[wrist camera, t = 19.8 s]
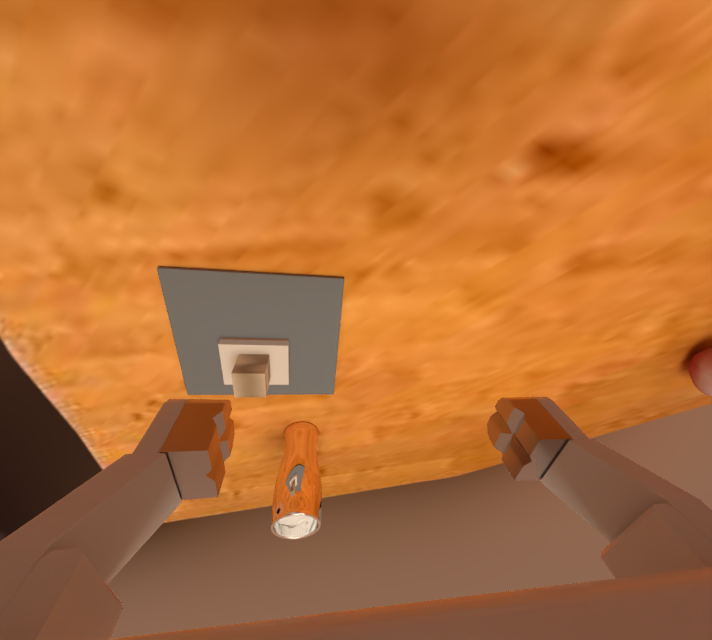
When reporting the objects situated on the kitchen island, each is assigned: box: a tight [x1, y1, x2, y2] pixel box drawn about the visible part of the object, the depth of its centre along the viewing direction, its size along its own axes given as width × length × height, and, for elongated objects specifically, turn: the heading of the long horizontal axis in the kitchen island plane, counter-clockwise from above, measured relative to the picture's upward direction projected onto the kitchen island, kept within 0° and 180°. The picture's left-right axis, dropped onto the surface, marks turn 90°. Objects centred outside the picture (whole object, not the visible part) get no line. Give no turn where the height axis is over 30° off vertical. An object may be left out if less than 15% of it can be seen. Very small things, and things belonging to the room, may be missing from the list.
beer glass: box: [271, 422, 322, 539], centre depth 45 cm, size 7×7×15 cm
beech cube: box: [231, 354, 271, 397], centre depth 38 cm, size 4×4×4 cm
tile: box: [218, 338, 290, 385], centre depth 41 cm, size 2×7×9 cm
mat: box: [157, 266, 344, 395], centre depth 40 cm, size 22×20×1 cm
